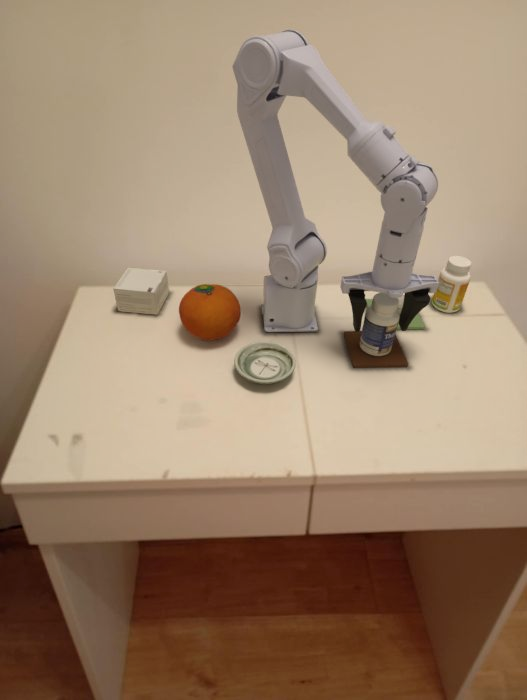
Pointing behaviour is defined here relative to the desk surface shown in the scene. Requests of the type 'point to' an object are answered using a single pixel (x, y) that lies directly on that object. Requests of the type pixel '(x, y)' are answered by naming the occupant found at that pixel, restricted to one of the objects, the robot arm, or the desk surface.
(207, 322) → the fruit
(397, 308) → the golf ball
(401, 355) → the walnut mat
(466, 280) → the supplement bottle
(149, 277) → the small box
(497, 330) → the desk surface
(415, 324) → the sage mat
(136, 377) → the desk surface
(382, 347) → the pill bottle
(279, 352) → the saucer
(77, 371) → the desk surface
